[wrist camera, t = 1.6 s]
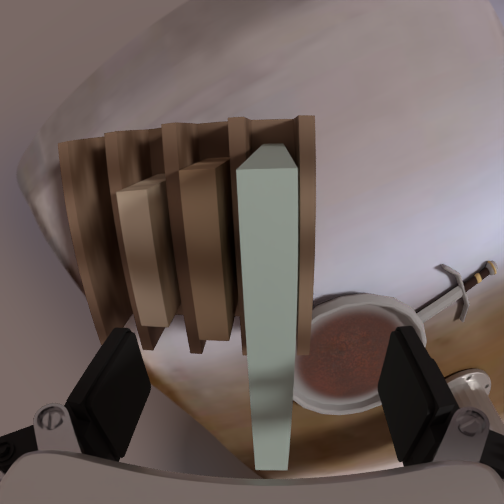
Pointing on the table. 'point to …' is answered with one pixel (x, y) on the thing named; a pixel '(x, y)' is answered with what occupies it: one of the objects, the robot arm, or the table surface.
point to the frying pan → (360, 345)
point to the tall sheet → (269, 295)
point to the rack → (174, 211)
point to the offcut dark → (210, 245)
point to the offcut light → (150, 250)
